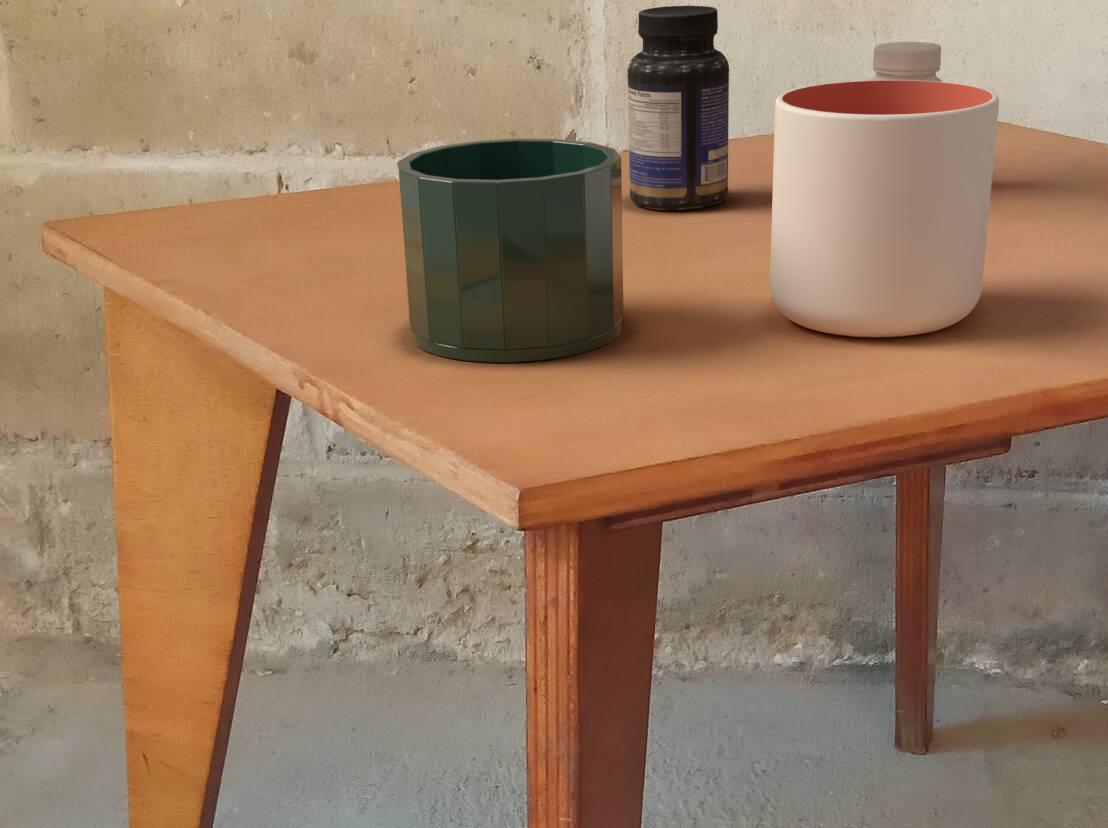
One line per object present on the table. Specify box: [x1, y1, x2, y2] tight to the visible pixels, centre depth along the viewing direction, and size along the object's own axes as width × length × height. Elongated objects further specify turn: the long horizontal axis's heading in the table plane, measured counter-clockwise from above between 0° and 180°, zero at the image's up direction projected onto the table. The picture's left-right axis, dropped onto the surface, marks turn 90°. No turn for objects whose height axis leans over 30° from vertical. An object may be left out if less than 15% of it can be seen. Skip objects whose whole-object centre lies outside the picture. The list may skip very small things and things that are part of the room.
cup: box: [769, 79, 1000, 338], centre depth 80 cm, size 10×10×10 cm
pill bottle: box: [626, 5, 730, 212], centre depth 103 cm, size 6×6×11 cm
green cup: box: [396, 138, 624, 363], centre depth 80 cm, size 10×10×8 cm
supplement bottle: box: [869, 41, 943, 82], centre depth 104 cm, size 5×5×8 cm
